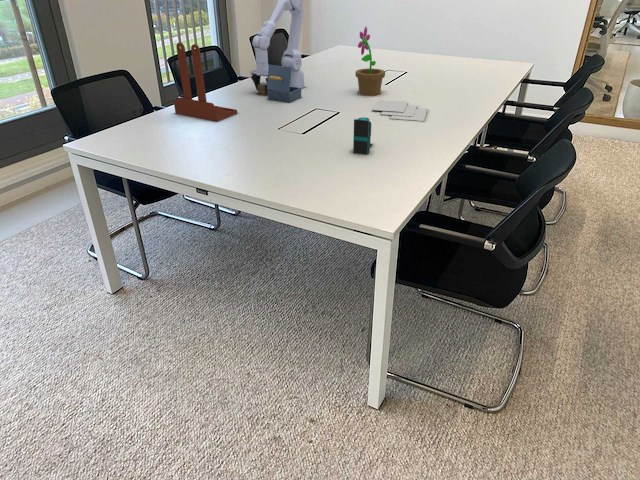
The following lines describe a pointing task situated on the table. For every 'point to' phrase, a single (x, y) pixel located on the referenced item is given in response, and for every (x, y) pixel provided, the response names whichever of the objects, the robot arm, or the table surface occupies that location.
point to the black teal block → (362, 136)
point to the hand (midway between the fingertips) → (264, 91)
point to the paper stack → (400, 110)
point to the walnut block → (262, 88)
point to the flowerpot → (368, 71)
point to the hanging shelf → (199, 106)
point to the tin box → (285, 95)
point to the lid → (279, 78)
